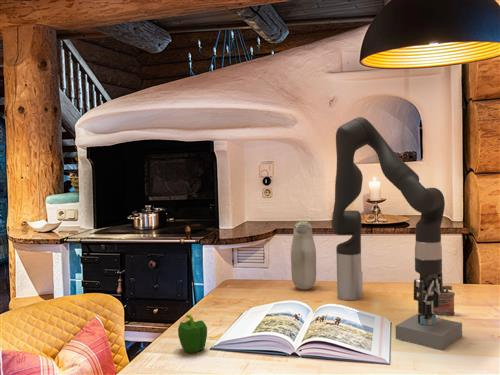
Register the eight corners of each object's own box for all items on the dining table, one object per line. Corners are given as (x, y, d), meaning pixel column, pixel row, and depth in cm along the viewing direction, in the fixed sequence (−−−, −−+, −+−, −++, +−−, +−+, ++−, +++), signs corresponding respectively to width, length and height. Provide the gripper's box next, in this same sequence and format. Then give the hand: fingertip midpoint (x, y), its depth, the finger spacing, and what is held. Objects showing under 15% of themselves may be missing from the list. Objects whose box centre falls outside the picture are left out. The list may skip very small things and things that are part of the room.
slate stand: (417, 326, 160) (417, 313, 159) (462, 336, 150) (462, 322, 150) (395, 338, 150) (395, 325, 149) (442, 350, 140) (442, 336, 140)
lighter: (429, 314, 170) (428, 285, 170) (429, 311, 173) (428, 283, 173) (454, 316, 168) (454, 287, 167) (454, 313, 171) (454, 284, 170)
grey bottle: (289, 286, 212) (287, 220, 210) (313, 285, 213) (312, 218, 211) (294, 292, 202) (292, 223, 200) (319, 291, 203) (317, 222, 201)
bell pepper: (210, 353, 143) (209, 318, 142) (181, 357, 141) (180, 322, 140) (204, 342, 151) (203, 310, 150) (177, 346, 149) (175, 313, 148)
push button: (435, 319, 153) (434, 287, 153) (444, 325, 148) (444, 291, 147) (414, 321, 152) (414, 288, 151) (423, 327, 147) (423, 293, 146)
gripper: (426, 250, 156) (427, 302, 157) (404, 258, 146) (405, 314, 147) (450, 253, 151) (451, 307, 152) (430, 262, 141) (430, 319, 142)
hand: (428, 310), depth 149 cm, fingers open, 8 cm apart
